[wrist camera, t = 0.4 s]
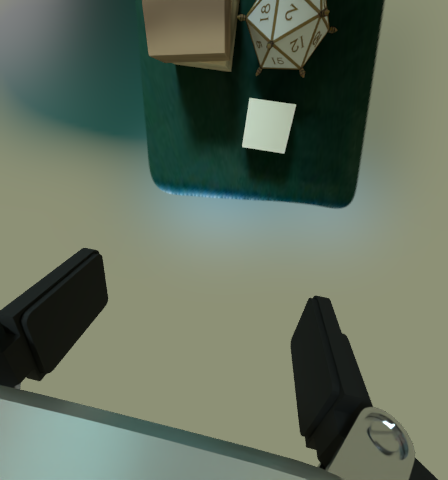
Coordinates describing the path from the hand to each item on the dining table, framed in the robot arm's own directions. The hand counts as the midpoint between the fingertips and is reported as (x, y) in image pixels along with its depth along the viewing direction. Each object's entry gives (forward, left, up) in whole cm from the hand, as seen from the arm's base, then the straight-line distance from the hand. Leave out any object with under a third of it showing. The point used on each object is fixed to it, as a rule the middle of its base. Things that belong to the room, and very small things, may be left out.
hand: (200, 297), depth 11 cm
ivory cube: (-6, +2, -27) cm, 28 cm away
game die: (-15, +2, -27) cm, 31 cm away
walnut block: (-14, -7, -22) cm, 27 cm away
